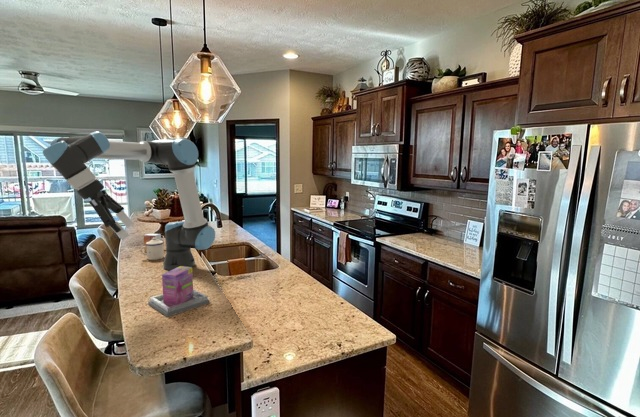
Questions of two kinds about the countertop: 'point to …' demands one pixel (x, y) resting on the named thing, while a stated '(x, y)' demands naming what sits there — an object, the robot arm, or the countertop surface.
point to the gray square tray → (178, 309)
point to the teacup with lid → (154, 249)
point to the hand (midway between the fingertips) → (128, 231)
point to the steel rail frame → (172, 308)
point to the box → (177, 285)
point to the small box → (150, 238)
